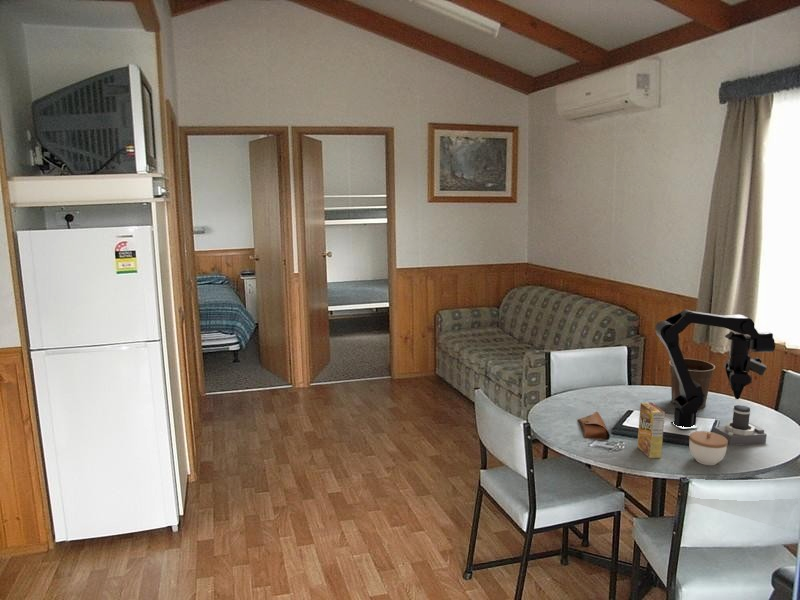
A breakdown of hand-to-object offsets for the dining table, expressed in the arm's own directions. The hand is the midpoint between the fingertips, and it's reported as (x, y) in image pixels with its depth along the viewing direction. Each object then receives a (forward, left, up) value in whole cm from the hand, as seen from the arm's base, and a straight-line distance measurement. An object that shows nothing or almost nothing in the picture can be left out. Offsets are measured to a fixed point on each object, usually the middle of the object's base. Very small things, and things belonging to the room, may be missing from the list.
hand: (735, 394), depth 223 cm
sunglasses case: (-49, +7, -13) cm, 51 cm away
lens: (-4, -10, -9) cm, 14 cm away
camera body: (-4, -10, -12) cm, 16 cm away
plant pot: (-1, +24, -12) cm, 27 cm away
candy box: (-40, -14, -12) cm, 44 cm away
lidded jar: (-26, -23, -12) cm, 37 cm away
